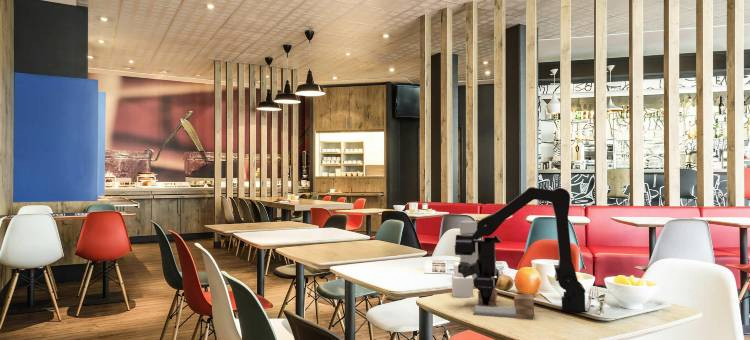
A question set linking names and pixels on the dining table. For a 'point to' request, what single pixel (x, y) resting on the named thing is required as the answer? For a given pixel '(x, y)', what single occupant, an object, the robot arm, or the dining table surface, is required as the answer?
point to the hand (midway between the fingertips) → (487, 303)
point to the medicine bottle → (461, 282)
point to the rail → (495, 311)
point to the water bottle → (469, 229)
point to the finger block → (492, 299)
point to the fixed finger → (524, 306)
